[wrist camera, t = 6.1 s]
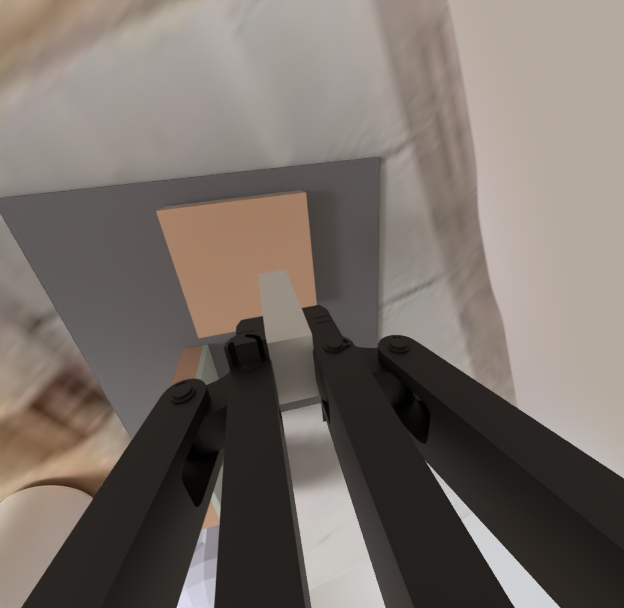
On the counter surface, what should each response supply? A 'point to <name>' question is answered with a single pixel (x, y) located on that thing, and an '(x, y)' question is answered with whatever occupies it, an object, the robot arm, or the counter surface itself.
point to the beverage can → (34, 536)
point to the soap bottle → (202, 572)
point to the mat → (163, 277)
